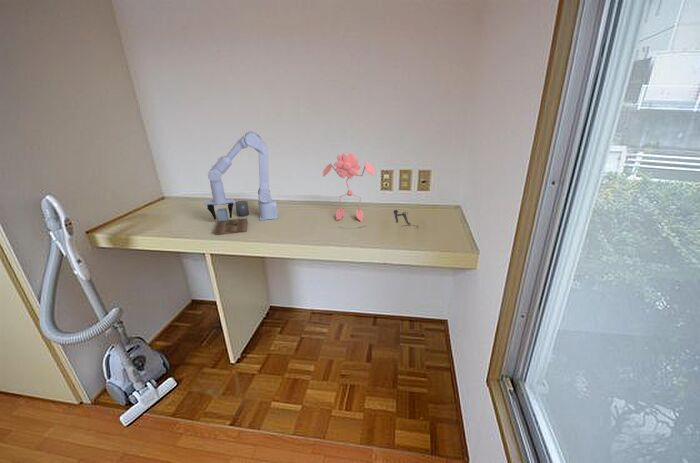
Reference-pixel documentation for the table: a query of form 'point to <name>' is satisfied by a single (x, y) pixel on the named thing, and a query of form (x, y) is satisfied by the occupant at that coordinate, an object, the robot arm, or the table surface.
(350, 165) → the figurine
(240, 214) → the round peg
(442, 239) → the table surface
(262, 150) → the robot arm
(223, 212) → the square peg
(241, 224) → the socket block
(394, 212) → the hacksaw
